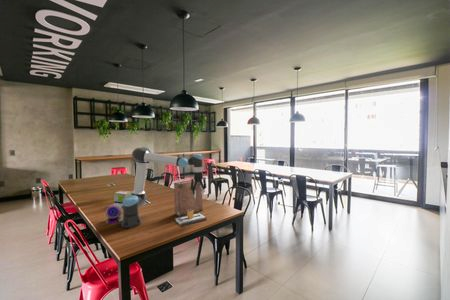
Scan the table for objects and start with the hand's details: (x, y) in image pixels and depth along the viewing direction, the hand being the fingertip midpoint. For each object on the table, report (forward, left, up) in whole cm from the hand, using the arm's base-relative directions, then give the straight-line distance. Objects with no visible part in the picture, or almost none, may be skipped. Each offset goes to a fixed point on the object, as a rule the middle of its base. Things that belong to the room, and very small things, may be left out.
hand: (198, 196), depth 192 cm
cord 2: (+7, -9, -19) cm, 22 cm away
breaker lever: (0, -8, -17) cm, 19 cm away
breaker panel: (0, -9, -19) cm, 21 cm away
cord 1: (-9, -9, -19) cm, 23 cm away
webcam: (-38, -65, -19) cm, 77 cm away
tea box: (-82, -52, -19) cm, 98 cm away
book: (-20, -2, -19) cm, 28 cm away
